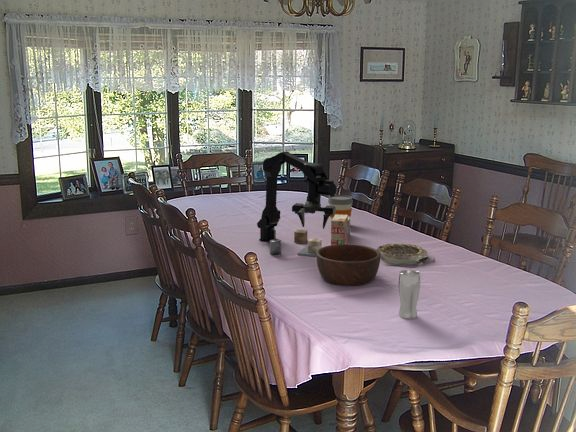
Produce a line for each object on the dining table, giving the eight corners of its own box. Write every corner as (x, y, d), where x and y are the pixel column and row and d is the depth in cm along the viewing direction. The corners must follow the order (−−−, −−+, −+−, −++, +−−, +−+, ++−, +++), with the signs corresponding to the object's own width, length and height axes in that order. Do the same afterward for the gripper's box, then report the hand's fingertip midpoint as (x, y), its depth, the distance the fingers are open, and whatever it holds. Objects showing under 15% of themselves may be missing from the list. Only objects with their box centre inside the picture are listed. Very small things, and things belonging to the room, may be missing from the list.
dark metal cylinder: (268, 254, 274) (268, 241, 273) (272, 251, 279) (271, 238, 277) (279, 255, 273) (279, 242, 271) (282, 252, 277) (282, 239, 276)
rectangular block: (294, 242, 294) (294, 232, 293) (297, 239, 299) (297, 229, 298) (304, 243, 293) (304, 232, 292) (307, 240, 297) (307, 230, 296)
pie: (362, 264, 263) (362, 252, 262) (377, 247, 288) (377, 237, 287) (429, 271, 253) (430, 259, 252) (438, 254, 278) (439, 243, 277)
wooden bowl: (363, 293, 228) (363, 266, 226) (303, 281, 241) (304, 255, 238) (390, 274, 249) (391, 249, 246) (334, 264, 261) (334, 240, 259)
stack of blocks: (337, 234, 309) (337, 209, 306) (350, 234, 307) (350, 210, 304) (330, 246, 288) (331, 220, 286) (344, 246, 287) (344, 220, 284)
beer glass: (402, 310, 212) (404, 267, 208) (421, 314, 208) (424, 271, 205) (393, 316, 206) (395, 273, 203) (413, 321, 202) (415, 277, 199)
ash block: (307, 251, 276) (307, 240, 275) (310, 248, 281) (310, 237, 279) (318, 252, 274) (318, 241, 273) (321, 249, 279) (321, 238, 278)
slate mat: (297, 255, 274) (298, 253, 274) (305, 247, 285) (305, 246, 285) (324, 257, 270) (324, 255, 270) (331, 249, 282) (331, 248, 281)
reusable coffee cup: (346, 221, 333) (346, 194, 329) (355, 227, 321) (356, 198, 318) (324, 223, 329) (324, 195, 325) (333, 229, 317) (333, 200, 314)
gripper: (288, 195, 269) (287, 230, 273) (330, 198, 263) (329, 234, 267) (295, 190, 279) (295, 224, 283) (336, 193, 274) (335, 227, 277)
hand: (313, 227), depth 277 cm, fingers open, 9 cm apart
